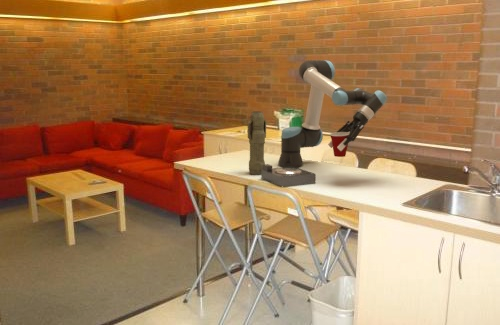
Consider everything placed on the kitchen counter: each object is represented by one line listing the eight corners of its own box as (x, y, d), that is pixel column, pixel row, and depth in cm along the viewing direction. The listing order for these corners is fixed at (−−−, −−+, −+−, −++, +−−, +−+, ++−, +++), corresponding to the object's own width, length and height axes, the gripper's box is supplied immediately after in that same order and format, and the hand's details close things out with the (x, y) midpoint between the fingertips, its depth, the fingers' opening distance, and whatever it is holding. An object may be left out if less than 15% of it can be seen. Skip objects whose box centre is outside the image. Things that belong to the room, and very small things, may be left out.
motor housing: (261, 178, 263) (261, 164, 261) (292, 175, 272) (293, 161, 270) (282, 187, 244) (282, 171, 242) (315, 183, 253) (315, 168, 251)
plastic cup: (324, 155, 254) (325, 132, 251) (342, 153, 257) (343, 131, 255) (335, 158, 244) (336, 134, 241) (354, 157, 247) (355, 133, 245)
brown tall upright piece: (243, 173, 275) (243, 111, 269) (258, 170, 283) (259, 110, 277) (254, 176, 269) (254, 112, 262) (269, 173, 277) (270, 111, 270)
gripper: (379, 123, 241) (349, 156, 240) (356, 119, 262) (329, 149, 261) (370, 112, 239) (340, 146, 237) (348, 109, 260) (320, 139, 258)
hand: (334, 147), depth 249 cm, fingers closed on plastic cup, 10 cm apart
